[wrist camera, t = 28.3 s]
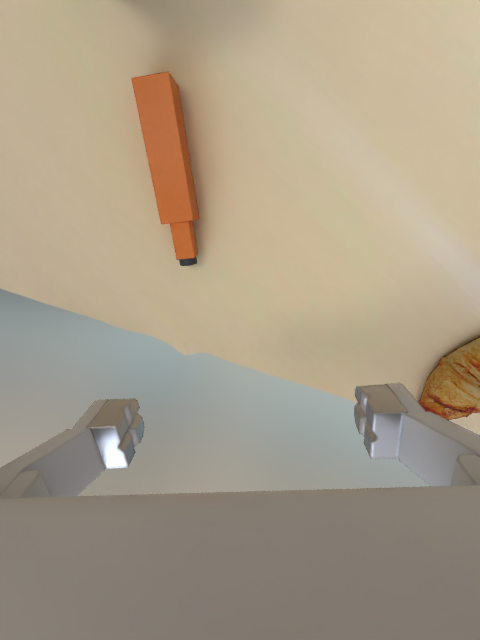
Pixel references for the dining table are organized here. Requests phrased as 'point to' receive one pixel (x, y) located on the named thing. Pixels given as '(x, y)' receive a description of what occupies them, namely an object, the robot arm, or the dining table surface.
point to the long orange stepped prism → (168, 159)
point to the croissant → (454, 384)
